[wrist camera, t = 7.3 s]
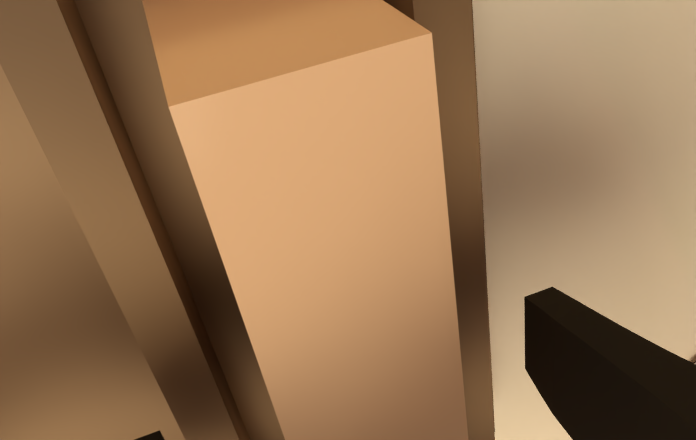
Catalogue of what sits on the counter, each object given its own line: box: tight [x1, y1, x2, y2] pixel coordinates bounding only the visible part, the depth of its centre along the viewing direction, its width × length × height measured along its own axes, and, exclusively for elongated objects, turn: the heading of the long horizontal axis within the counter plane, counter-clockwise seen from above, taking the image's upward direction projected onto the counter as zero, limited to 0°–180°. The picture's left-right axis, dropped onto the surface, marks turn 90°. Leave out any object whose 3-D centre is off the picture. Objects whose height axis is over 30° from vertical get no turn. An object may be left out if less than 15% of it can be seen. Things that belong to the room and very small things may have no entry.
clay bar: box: [142, 0, 468, 440], centre depth 13 cm, size 14×3×5 cm, turn 10°
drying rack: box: [0, 0, 495, 440], centre depth 14 cm, size 16×15×3 cm
